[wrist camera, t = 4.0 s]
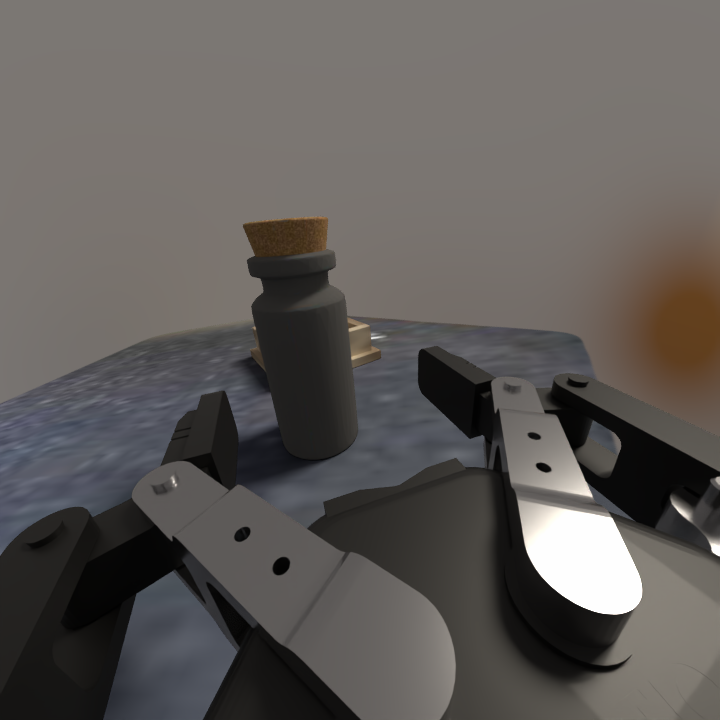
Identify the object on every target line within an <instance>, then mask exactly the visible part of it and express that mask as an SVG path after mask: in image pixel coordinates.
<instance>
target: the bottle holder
mask: <svg viewBox="0 0 720 720" xmlns="http://www.w3.org/2000/svg"><path fill="white" fill-rule="evenodd" d="M347 319H348V328H349V338H350V348H351V359H352V368H355V367H358V366H360V365H363V364H366V363H369V362H371V361H374V360H377V359H380V358H381V350H379V349H377V348H375V347H372V346H371V333H370V326H369V325H366V324H364V323H361V322H358V321H355V320H353V319H350V318H347ZM252 328H253V333H254V337H255V341H256V345H257V348H254V349H251V350H250V351H251V355H252V357H253V358H254V359H255V361H256V362H257V363H258V364H259V365H260V366H261V367H262V368H263V369H264V371H265V366H264V362H263V358H262V354H261V350H260V345H259V341H258V336H257V332H256V327H252ZM265 372H266V371H265Z"/></svg>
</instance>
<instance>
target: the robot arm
mask: <svg viewBox="0 0 720 720" xmlns="http://www.w3.org/2000/svg"><path fill="white" fill-rule="evenodd" d="M418 384H419V388H420V391H421V393H422V394H423V395H424V396H425V397H426V398H427V399H428V400H429V401H430V402H431V403H432V404H433V405H435V406H436V407H437V408H438V409H439V410H440V411H441V412H442V413H443V414H444V415H445V416H446V417H447V418H448V419H449V420H450V421H451V422H453V423H454V424H455V425H456V426H457V427H458V428H459V429H460V430H461V431H462V432H463V433H464V434H465V435H466V436H467V437H468V438H469V439H471V438H474V437H477V436H481V435H483V436H484V443H483V447H484V463H485V468H479V467H464V466H463V465H462V464H461V463H460V462H459V461H458V459H457V458H455V459H452V460H449V461H446V462H443V463H439V464H436V465H433V466H430V467H427V468H425V469H424V470H422V471H421V472H419V473H418V474H416V475H415V476H413V477H411V478H410V479H408V480H407V481H405V482H404V483H402V484H400V485H398V486H393V487H384V488H374V489H365V490H358V491H355V492H352V493H349V494H346V495H343V496H340V497H337V498H334V499H331V500H328V501H325V502H323V503H324V508H325V515H324V516H322V517H321V518H319V519H318V520H317V521H315V522H314V523H313V524H312V525H310V526H309V527H308V528H307V529H306V528H305V527H303V526H302V525H300V524H299V523H297V522H296V521H294V520H293V519H291V518H290V517H288V516H287V515H285V514H284V513H282V512H281V511H280V510H278V509H277V508H275V507H274V506H272V505H271V504H269V503H268V502H266V501H265V500H263V499H262V498H260V497H259V496H257V495H256V494H254V493H253V492H251V491H250V490H248V489H247V488H245V487H244V486H242V485H235V481H236V467H237V453H238V432H237V427H236V424H235V420H234V417H233V414H232V411H231V407H230V404H229V401H228V398H227V395H226V393H225V391H219V392H214V393H209V394H205V395H202V396H201V399H200V402H199V405H198V408H197V410H193V411H189V412H187V413H186V414H185V415H184V416H183V417H182V418H181V419H180V420H179V421H178V423H177V426H176V428H175V433H173V436H172V438H171V441H170V443H169V446H168V448H167V451H166V453H165V456H164V458H163V461H162V463H161V466H160V467H158V468H156V469H155V470H153V471H151V472H150V473H148V474H147V475H146V476H144V477H143V478H142V479H141V480H140V481H139V482H138V483H137V485H136V486H135V488H134V489H133V492H132V498H131V499H129V500H128V501H126V502H124V503H122V504H120V505H117V506H115V507H113V508H111V509H109V510H107V511H105V512H103V513H101V514H99V515H96V516H94V517H92V516H91V514H90V513H89V511H88V510H87V509H85V508H83V507H71V508H67V509H63V510H60V511H57V512H55V513H53V514H50V515H48V516H46V517H44V518H42V519H41V520H39V521H37V522H36V523H34V524H33V525H31V526H30V527H28V528H27V529H25V530H24V531H23V532H22V533H20V534H19V535H18V536H17V537H16V538H15V539H14V540H13V541H12V542H11V543H10V544H9V545H8V546H7V548H6V549H5V550H4V552H3V553H2V554H1V556H0V720H103V717H104V714H105V710H106V706H107V702H108V699H109V695H110V691H111V687H112V684H113V680H114V676H115V672H116V669H117V665H118V661H119V657H120V653H121V650H122V646H123V642H124V638H125V635H126V631H127V627H128V623H129V620H130V616H131V612H132V608H133V605H134V601H135V597H136V594H137V593H138V592H140V591H141V590H143V589H145V588H146V587H148V586H149V585H151V584H153V583H154V582H156V581H157V580H159V579H161V578H162V577H164V576H165V575H167V574H169V573H170V572H172V571H173V572H174V573H175V574H176V575H177V576H178V578H179V579H180V580H181V581H182V582H183V583H184V585H185V586H186V587H187V588H188V589H189V590H190V592H191V593H192V594H193V595H194V596H195V597H196V599H197V600H198V601H199V602H200V603H201V604H202V606H203V607H204V608H205V609H206V610H207V612H208V613H209V614H210V615H211V616H212V618H213V619H214V621H215V622H216V623H217V625H218V626H219V628H220V630H221V631H222V632H223V634H224V635H225V637H226V638H227V639H228V641H229V642H230V643H231V644H232V646H233V647H234V648H235V649H236V651H237V654H236V656H235V658H234V660H233V662H232V664H231V666H230V668H229V670H228V672H227V674H226V676H225V678H224V680H223V682H222V684H221V686H220V688H219V690H218V691H217V693H216V695H215V697H214V699H213V701H212V703H211V705H210V707H209V709H208V711H207V713H206V715H205V717H204V719H203V720H720V437H719V436H717V435H715V434H712V433H710V432H708V431H706V430H704V429H702V428H699V427H697V426H695V425H693V424H691V423H688V422H686V421H684V420H682V419H680V418H678V417H675V416H673V415H671V414H669V413H667V412H664V411H662V410H660V409H658V408H656V407H654V406H651V405H649V404H647V403H645V402H643V401H640V400H638V399H636V398H634V397H632V396H630V395H627V394H625V393H623V392H621V391H619V390H617V389H614V388H612V387H610V386H608V385H606V384H603V383H601V382H599V381H597V380H595V379H592V378H590V377H587V376H583V375H579V374H570V373H566V374H559V375H557V376H555V377H554V381H553V385H552V388H535V387H534V386H533V385H532V384H531V383H530V382H528V381H526V380H523V379H520V378H515V377H499V378H495V377H494V376H492V375H490V374H488V373H487V372H485V371H483V370H482V369H480V368H478V367H476V366H475V365H473V364H472V363H469V362H468V361H466V360H465V359H463V358H461V357H458V356H455V355H452V354H450V353H448V352H447V351H445V350H443V349H442V348H440V347H438V346H434V347H429V348H425V349H421V350H420V351H419V355H418ZM593 420H594V421H596V422H597V423H599V424H601V425H602V426H604V427H606V428H607V429H609V430H611V431H612V432H614V433H615V434H616V435H617V436H618V437H619V439H620V441H621V450H620V452H619V455H618V456H617V455H615V454H614V453H612V452H611V451H609V450H608V449H606V448H605V447H603V446H601V445H600V444H598V443H597V442H595V441H594V440H592V439H591V438H589V437H588V434H589V431H590V428H591V425H592V422H593ZM586 482H587V483H588V484H590V485H591V486H592V487H593V488H595V489H596V490H597V491H598V492H600V493H601V494H602V495H603V496H605V497H606V498H607V499H608V500H610V501H611V502H612V503H613V504H615V505H616V506H617V507H618V508H620V509H621V510H622V511H623V512H625V513H626V514H627V515H628V516H630V517H631V518H632V519H633V520H635V521H636V522H635V521H633V520H630V519H627V518H625V517H622V516H619V515H617V514H614V513H611V512H608V511H607V509H606V508H605V507H603V506H602V505H599V504H597V503H596V502H595V500H594V499H593V497H592V494H591V492H590V490H589V488H588V485H587V483H586Z"/></svg>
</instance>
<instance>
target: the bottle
mask: <svg viewBox="0 0 720 720" xmlns="http://www.w3.org/2000/svg"><path fill="white" fill-rule="evenodd" d="M327 226H328V218H326V217H303V218H289V219H276V220H265V221H256V222H249V223H245V224H243V228H244V230H245V232H246V235H247V237H248V240H249V242H250V244H251V246H252V249H253V251H254V254H255V256H254V257H251V258H249V259H248V260H247V264H248V269H249V273H250V275H251V276H252V277H257V278H260V279H261V281H262V284H263V290H264V291H263V293H262V294H261V295H260V296H258V297H257V298H256V300H255V301H254V302H253V304H252V306H251V307H252V314H253V319H254V323H255V327H256V332H257V336H258V341H259V345H260V350H261V354H262V358H263V362H264V366H265V371H266V375H267V379H268V383H269V387H270V392H271V396H272V400H273V404H274V408H275V413H276V417H277V421H278V425H279V429H280V433H281V437H282V440H283V444H284V446H285V448H286V449H287V451H288V452H289V453H290V454H292V455H294V456H296V457H299V458H302V459H309V460H315V459H324V458H328V457H331V456H334V455H337V454H339V453H340V452H342V451H344V450H345V449H347V448H348V447H349V446H350V445H351V444H352V443H353V442H354V440H355V438H356V436H357V432H358V424H357V410H356V400H355V389H354V379H353V369H352V359H351V348H350V338H349V328H348V319H347V309H346V301H345V296H344V294H343V293H342V292H341V291H340V290H339V289H337V288H336V287H334V286H331V285H330V284H329V281H328V271H329V270H331V269H333V268H334V267H335V266H336V259H335V252H334V251H332V250H328V249H326V240H327Z"/></svg>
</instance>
